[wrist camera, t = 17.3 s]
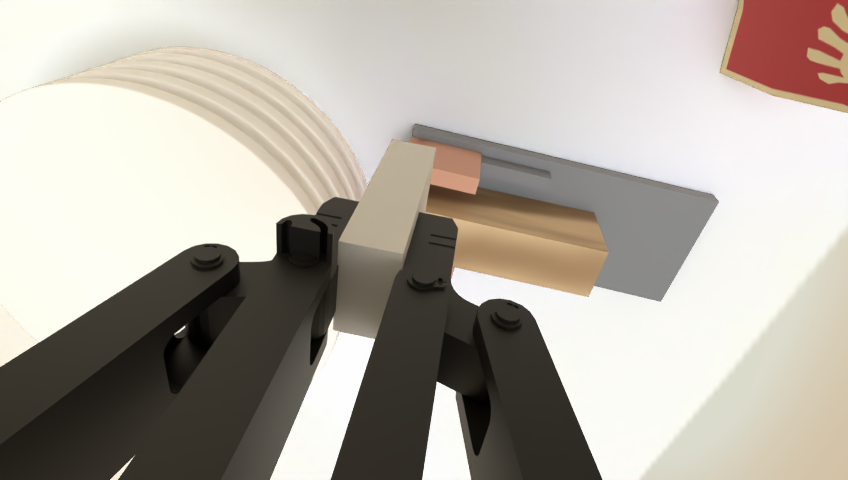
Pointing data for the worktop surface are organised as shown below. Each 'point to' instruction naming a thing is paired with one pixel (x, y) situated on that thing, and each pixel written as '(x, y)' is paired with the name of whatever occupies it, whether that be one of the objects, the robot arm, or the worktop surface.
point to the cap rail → (585, 204)
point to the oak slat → (523, 238)
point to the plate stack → (153, 175)
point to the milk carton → (792, 50)
